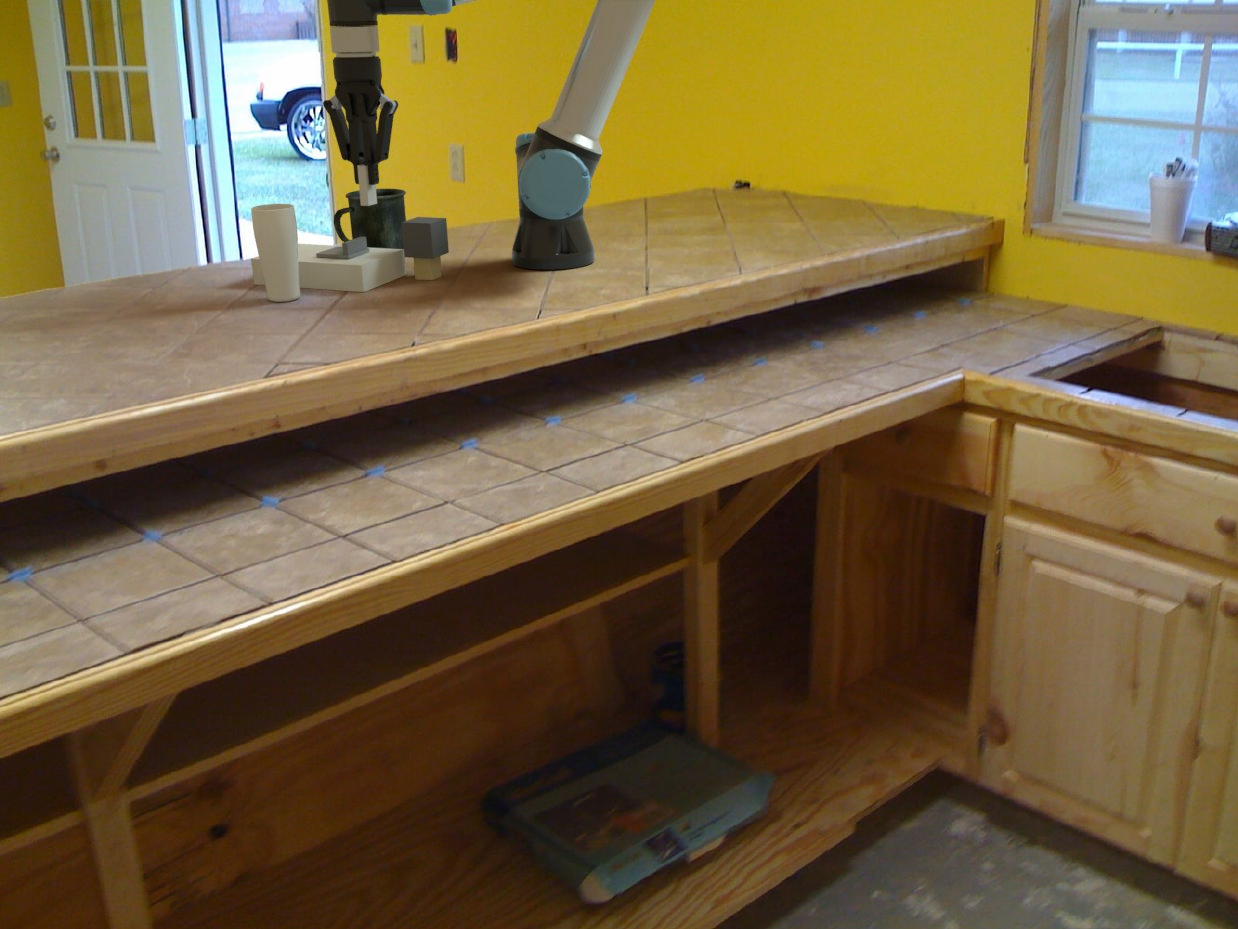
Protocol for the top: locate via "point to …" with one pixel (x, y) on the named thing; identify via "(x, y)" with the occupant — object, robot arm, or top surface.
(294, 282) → the drinking glass
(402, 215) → the mug
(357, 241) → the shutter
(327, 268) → the socket
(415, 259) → the plug
